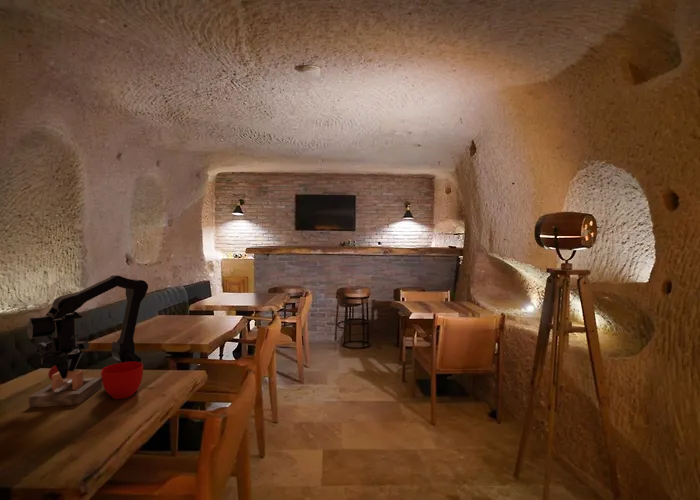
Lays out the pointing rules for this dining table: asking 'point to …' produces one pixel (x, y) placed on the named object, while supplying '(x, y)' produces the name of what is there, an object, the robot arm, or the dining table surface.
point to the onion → (52, 372)
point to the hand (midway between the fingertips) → (67, 376)
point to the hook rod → (62, 387)
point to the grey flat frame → (65, 394)
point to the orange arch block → (74, 375)
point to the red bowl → (122, 379)
